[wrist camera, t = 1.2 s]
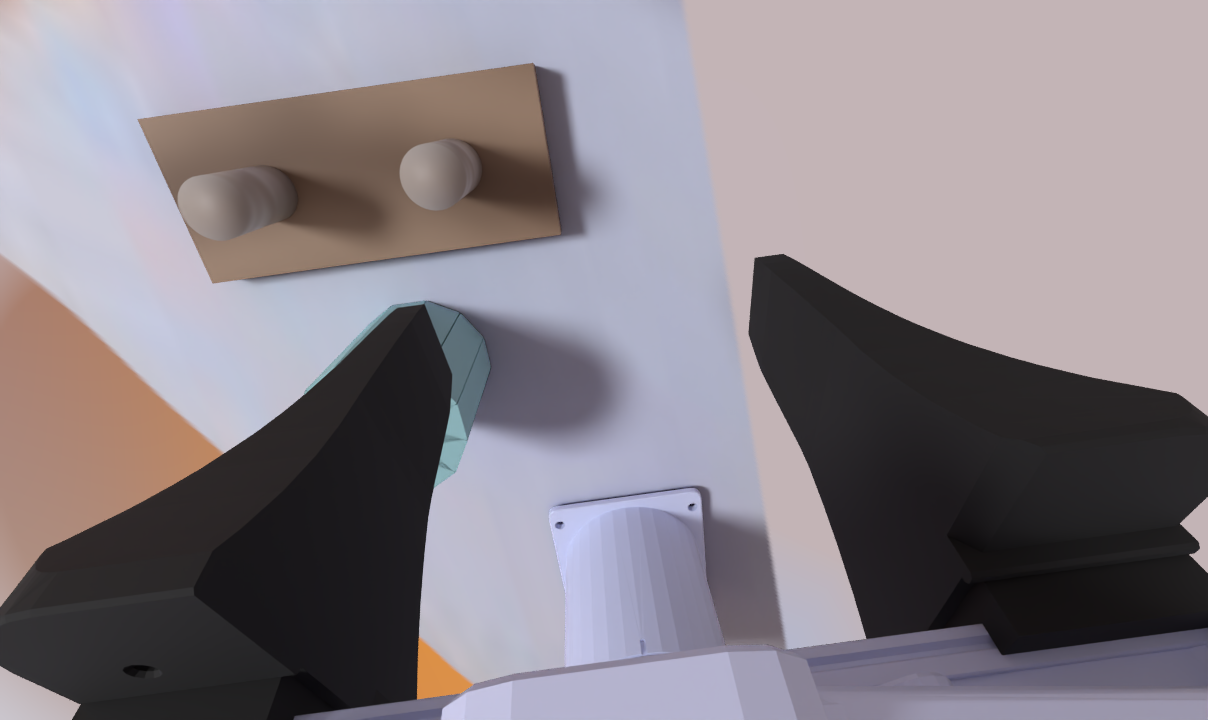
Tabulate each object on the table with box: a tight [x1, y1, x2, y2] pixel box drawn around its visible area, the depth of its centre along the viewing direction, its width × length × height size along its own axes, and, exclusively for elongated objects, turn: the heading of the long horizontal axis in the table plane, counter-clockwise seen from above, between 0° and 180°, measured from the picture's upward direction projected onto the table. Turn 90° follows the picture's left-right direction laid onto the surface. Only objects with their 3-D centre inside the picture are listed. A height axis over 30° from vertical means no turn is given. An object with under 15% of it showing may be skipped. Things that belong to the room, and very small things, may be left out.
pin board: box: [138, 63, 561, 283], centre depth 19 cm, size 6×14×4 cm, turn 97°
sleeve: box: [304, 301, 491, 487], centre depth 21 cm, size 6×6×6 cm
